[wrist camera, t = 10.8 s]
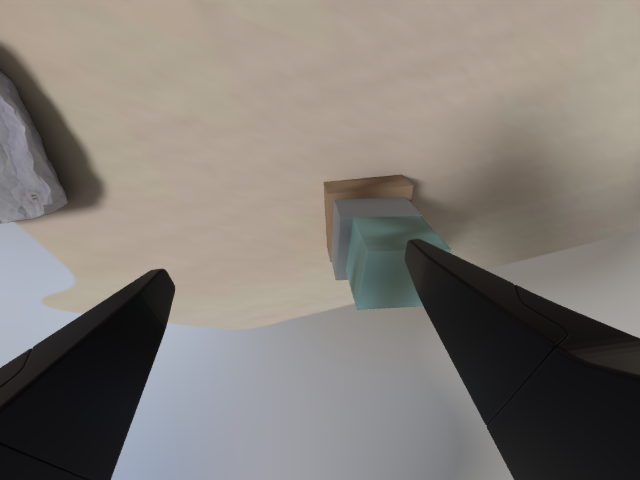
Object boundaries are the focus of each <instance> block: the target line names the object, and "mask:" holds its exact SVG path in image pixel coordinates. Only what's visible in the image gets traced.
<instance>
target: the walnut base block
mask: <svg viewBox="0 0 640 480" xmlns="http://www.w3.org/2000/svg"><path fill="white" fill-rule="evenodd" d="M413 187H414V185H413V184H412V183H410V182H409V181H408V180H407V179H406V178H405V177H404V176H402V175H393V176H383V177H372V178H362V179H352V180H341V181H331V182H324V197H325V216H326V235H327V248H328V253H329V257H330V262H332V260H331V250H332V230H333V210H334V200H337V199H368V198H399V197H406V198H407V199H408V200H409V201H410V202H411V199H412V193H413Z"/></svg>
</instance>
